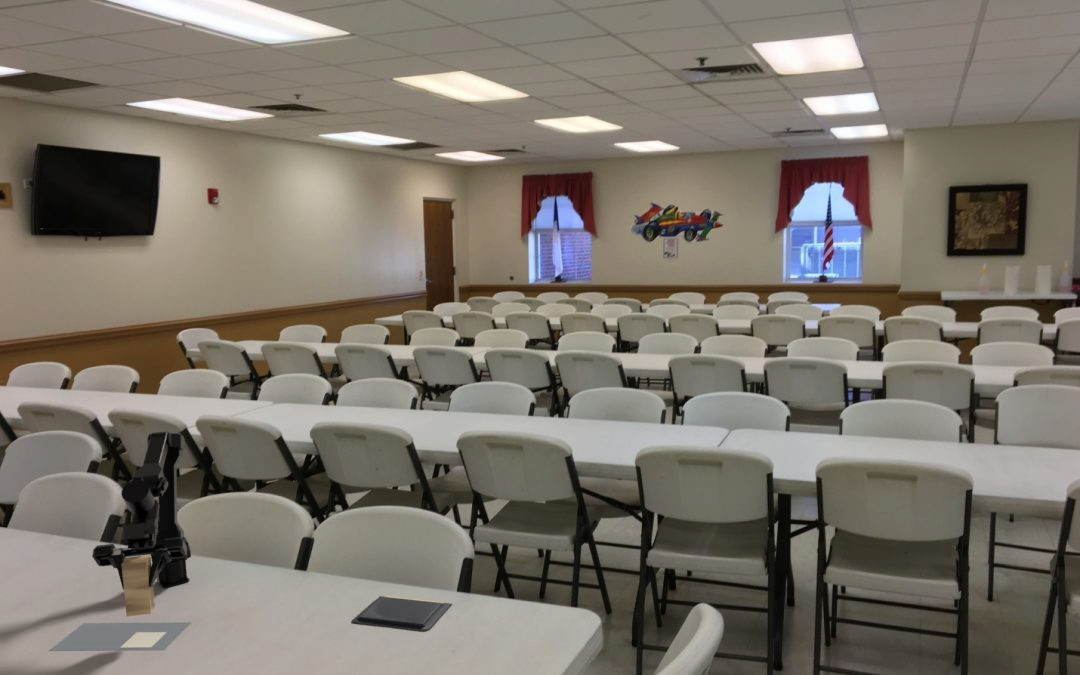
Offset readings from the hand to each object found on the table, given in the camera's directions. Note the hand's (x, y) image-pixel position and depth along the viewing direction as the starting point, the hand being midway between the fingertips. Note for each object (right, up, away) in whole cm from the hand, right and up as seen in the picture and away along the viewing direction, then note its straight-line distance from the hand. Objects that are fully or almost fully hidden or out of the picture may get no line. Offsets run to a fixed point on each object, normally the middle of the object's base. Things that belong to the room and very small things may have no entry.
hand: (137, 587), depth 184 cm
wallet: (+56, -11, +14) cm, 59 cm away
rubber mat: (-6, -13, +5) cm, 15 cm away
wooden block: (0, -6, +2) cm, 6 cm away
